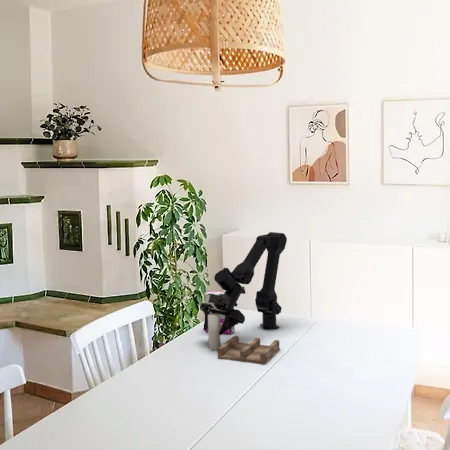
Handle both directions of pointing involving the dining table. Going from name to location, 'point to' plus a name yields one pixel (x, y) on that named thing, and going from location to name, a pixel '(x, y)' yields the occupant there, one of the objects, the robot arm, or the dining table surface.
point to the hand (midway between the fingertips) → (211, 332)
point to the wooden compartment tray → (248, 350)
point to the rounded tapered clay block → (214, 331)
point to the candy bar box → (222, 318)
